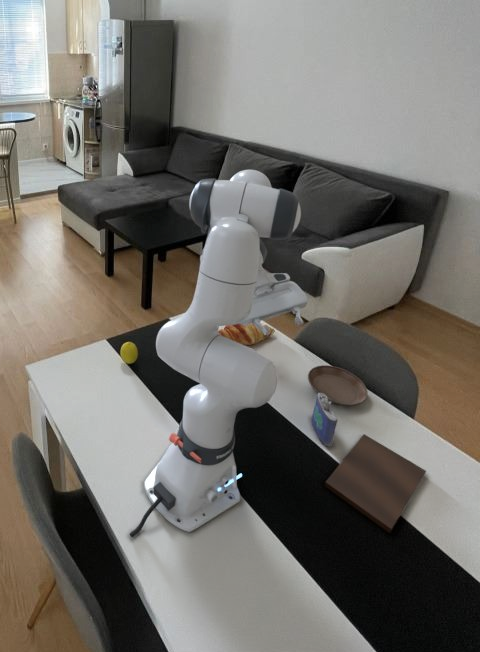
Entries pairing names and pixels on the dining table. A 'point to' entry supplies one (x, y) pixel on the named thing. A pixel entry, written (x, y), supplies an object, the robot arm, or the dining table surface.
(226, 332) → the croissant
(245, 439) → the dining table surface
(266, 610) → the dining table surface
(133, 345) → the lemon
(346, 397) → the saucer
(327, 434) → the flask
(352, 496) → the cutting board
